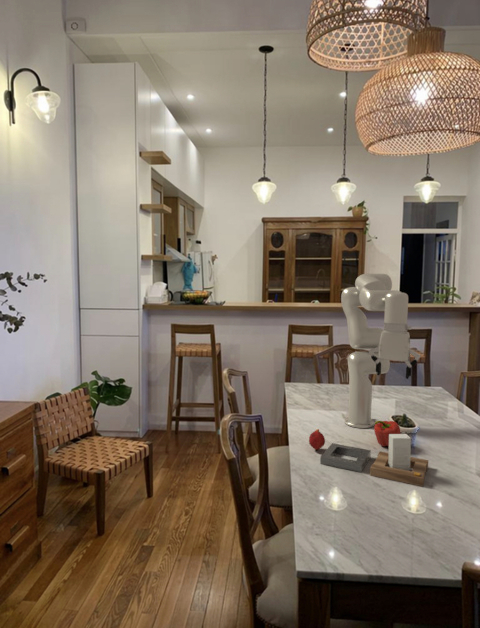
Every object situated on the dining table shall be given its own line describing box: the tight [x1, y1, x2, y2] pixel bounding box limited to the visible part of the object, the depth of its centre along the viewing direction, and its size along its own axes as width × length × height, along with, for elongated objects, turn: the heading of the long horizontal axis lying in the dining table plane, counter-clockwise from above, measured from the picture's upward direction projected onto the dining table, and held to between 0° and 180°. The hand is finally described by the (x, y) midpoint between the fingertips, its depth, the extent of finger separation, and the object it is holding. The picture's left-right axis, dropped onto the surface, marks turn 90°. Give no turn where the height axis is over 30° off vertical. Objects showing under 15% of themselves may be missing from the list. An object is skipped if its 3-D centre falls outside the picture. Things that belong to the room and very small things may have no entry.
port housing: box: [369, 451, 429, 487], centre depth 149 cm, size 16×16×3 cm
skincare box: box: [387, 433, 412, 471], centre depth 149 cm, size 6×4×12 cm
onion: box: [308, 428, 326, 451], centre depth 167 cm, size 6×6×8 cm
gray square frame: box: [319, 442, 372, 473], centre depth 158 cm, size 14×14×2 cm
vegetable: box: [373, 420, 402, 448], centre depth 171 cm, size 11×10×10 cm
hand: (393, 376), depth 158 cm, fingers open, 9 cm apart
